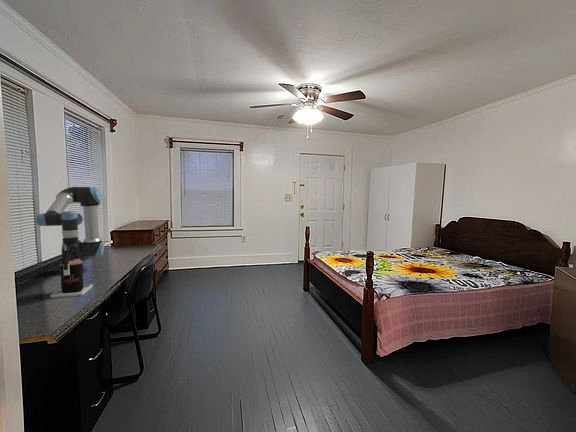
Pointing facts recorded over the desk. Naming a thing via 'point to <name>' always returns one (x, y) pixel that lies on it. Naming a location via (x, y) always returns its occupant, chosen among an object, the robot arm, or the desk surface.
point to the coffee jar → (72, 277)
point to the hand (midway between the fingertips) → (72, 272)
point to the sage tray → (81, 293)
